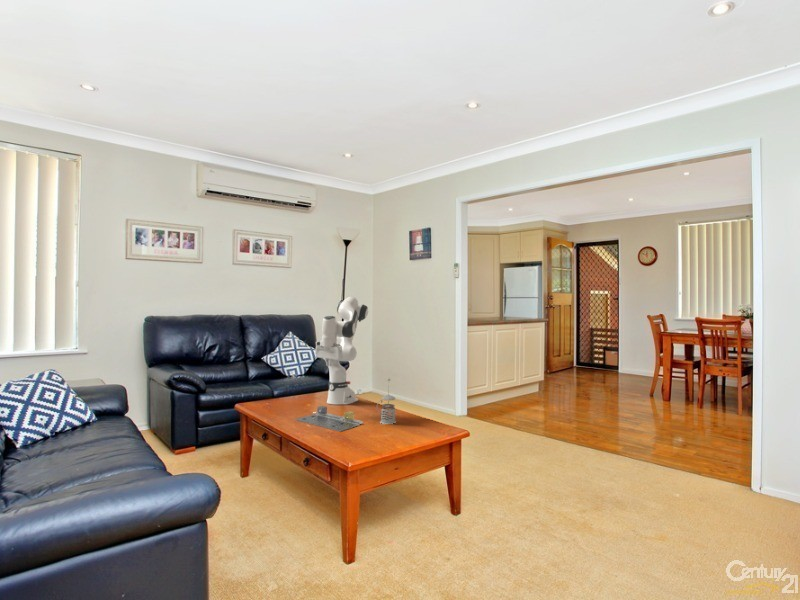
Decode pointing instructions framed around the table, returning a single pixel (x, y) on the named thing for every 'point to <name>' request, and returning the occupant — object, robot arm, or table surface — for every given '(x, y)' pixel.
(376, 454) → the table surface
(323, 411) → the trammel beam
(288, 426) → the table surface
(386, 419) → the french press
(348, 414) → the sliding head
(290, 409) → the table surface
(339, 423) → the flange plate
